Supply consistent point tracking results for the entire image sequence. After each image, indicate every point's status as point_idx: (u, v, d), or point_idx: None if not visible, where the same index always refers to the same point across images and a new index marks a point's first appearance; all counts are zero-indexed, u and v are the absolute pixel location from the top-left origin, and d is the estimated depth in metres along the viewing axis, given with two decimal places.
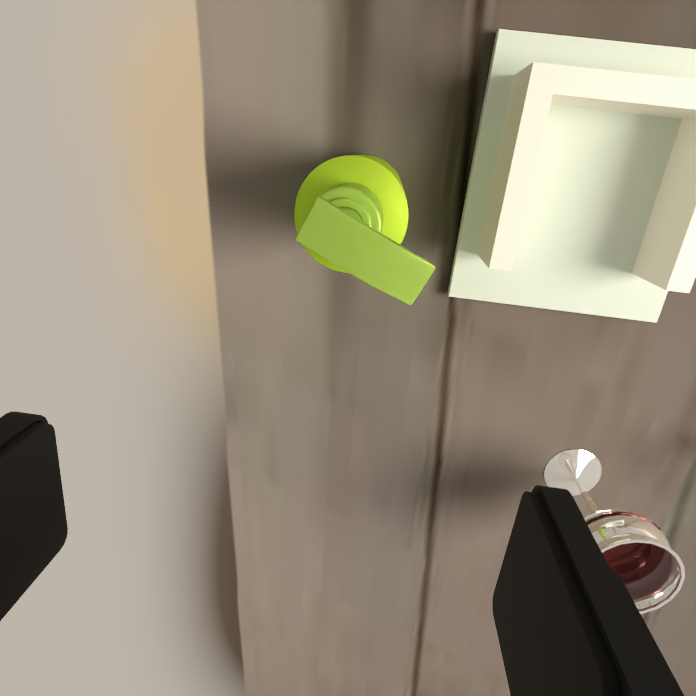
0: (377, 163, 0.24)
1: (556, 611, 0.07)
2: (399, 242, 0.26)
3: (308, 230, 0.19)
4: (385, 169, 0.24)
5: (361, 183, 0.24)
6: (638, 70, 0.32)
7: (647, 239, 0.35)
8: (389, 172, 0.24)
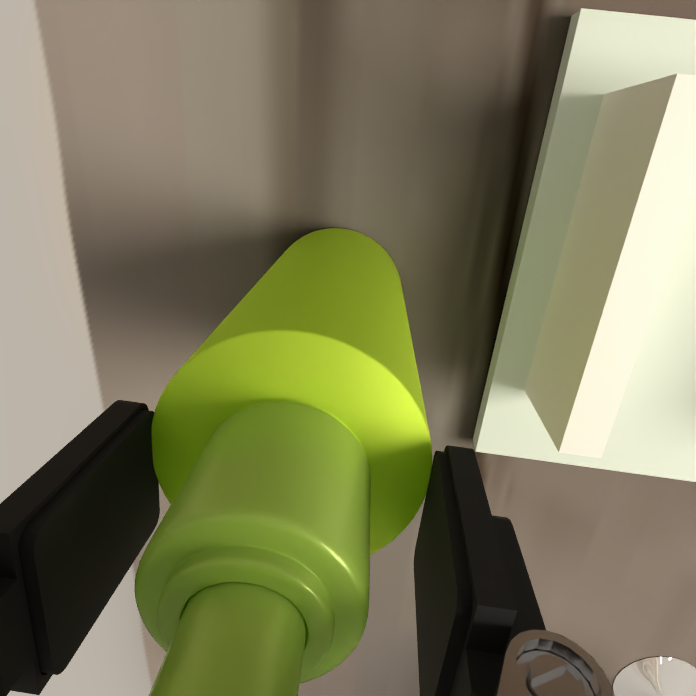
0: (353, 349, 0.09)
1: (442, 547, 0.08)
2: (409, 517, 0.11)
3: None
4: (374, 364, 0.09)
5: (312, 400, 0.09)
6: None
7: None
8: (384, 370, 0.09)
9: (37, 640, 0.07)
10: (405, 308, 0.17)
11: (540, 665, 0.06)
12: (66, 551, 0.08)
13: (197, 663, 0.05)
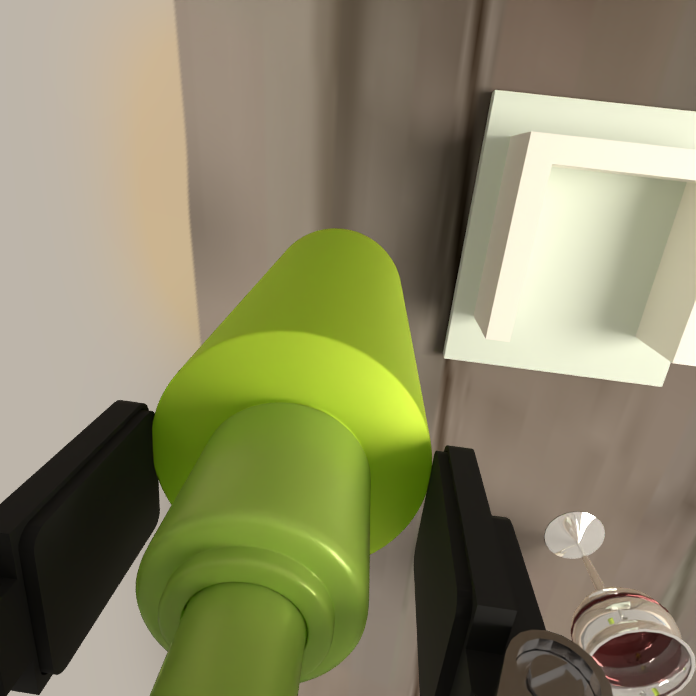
0: (353, 349, 0.09)
1: (442, 547, 0.08)
2: (409, 517, 0.11)
3: None
4: (374, 365, 0.09)
5: (312, 401, 0.09)
6: (640, 132, 0.31)
7: (651, 304, 0.34)
8: (384, 371, 0.09)
9: (37, 640, 0.07)
10: (405, 308, 0.18)
11: (540, 665, 0.06)
12: (66, 551, 0.08)
13: (198, 662, 0.05)
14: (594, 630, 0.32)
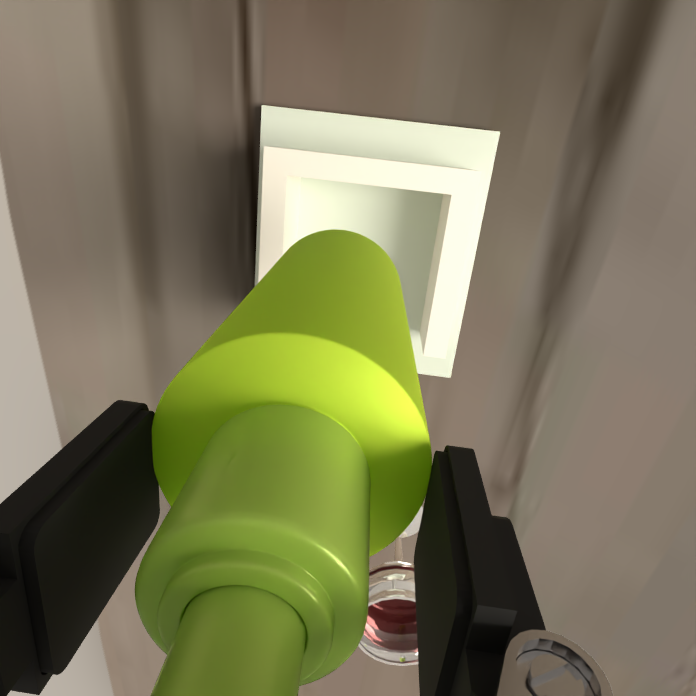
0: (353, 351, 0.09)
1: (441, 547, 0.08)
2: (409, 519, 0.11)
3: None
4: (374, 367, 0.09)
5: (312, 403, 0.09)
6: (396, 144, 0.34)
7: (425, 301, 0.37)
8: (384, 373, 0.09)
9: (37, 640, 0.07)
10: (405, 309, 0.18)
11: (540, 665, 0.06)
12: (66, 551, 0.08)
13: (197, 667, 0.05)
14: None
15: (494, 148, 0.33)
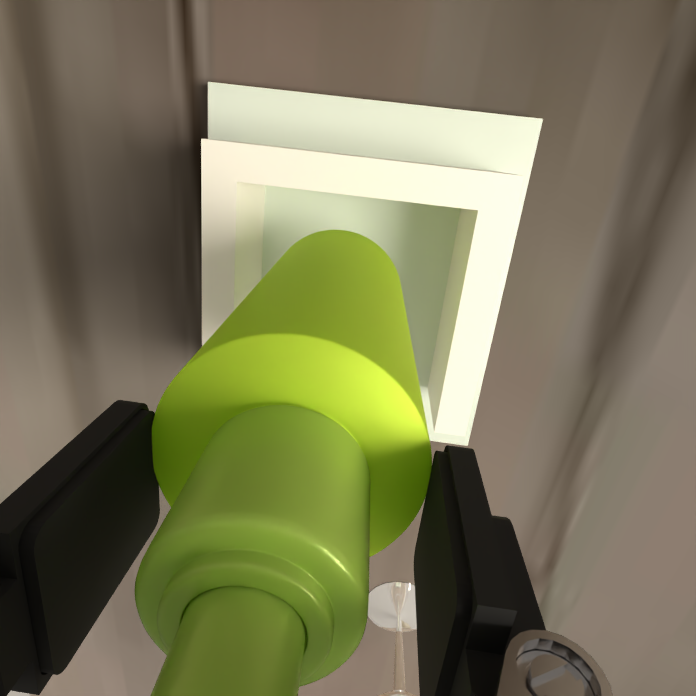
0: (352, 352, 0.09)
1: (442, 547, 0.08)
2: (409, 519, 0.11)
3: None
4: (374, 368, 0.09)
5: (311, 403, 0.09)
6: (396, 137, 0.24)
7: (436, 349, 0.27)
8: (384, 373, 0.09)
9: (37, 640, 0.07)
10: (405, 310, 0.18)
11: (540, 665, 0.06)
12: (66, 551, 0.08)
13: (197, 667, 0.05)
14: None
15: (534, 142, 0.24)
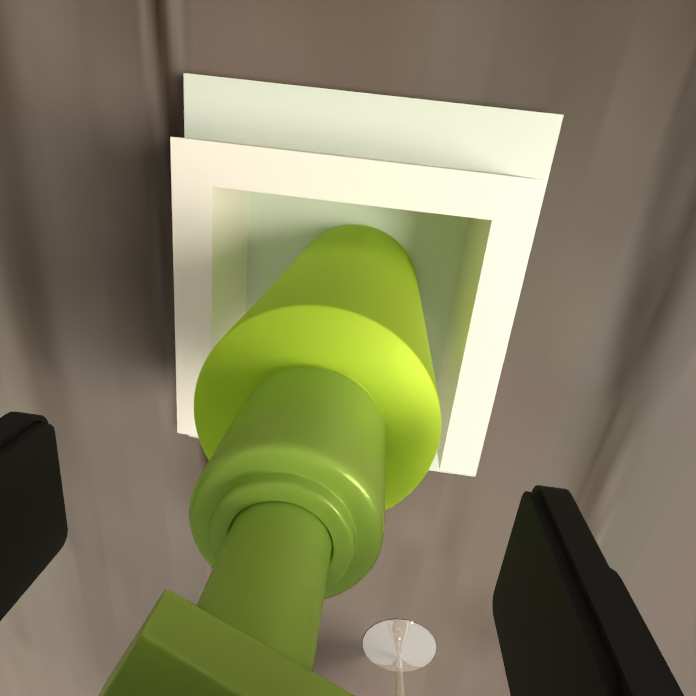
0: (375, 324, 0.11)
1: (556, 611, 0.07)
2: (419, 478, 0.12)
3: None
4: (393, 338, 0.11)
5: (338, 367, 0.11)
6: (397, 135, 0.21)
7: (441, 373, 0.24)
8: (402, 343, 0.11)
9: None
10: (420, 300, 0.19)
11: None
12: None
13: (248, 553, 0.07)
14: None
15: (553, 141, 0.21)
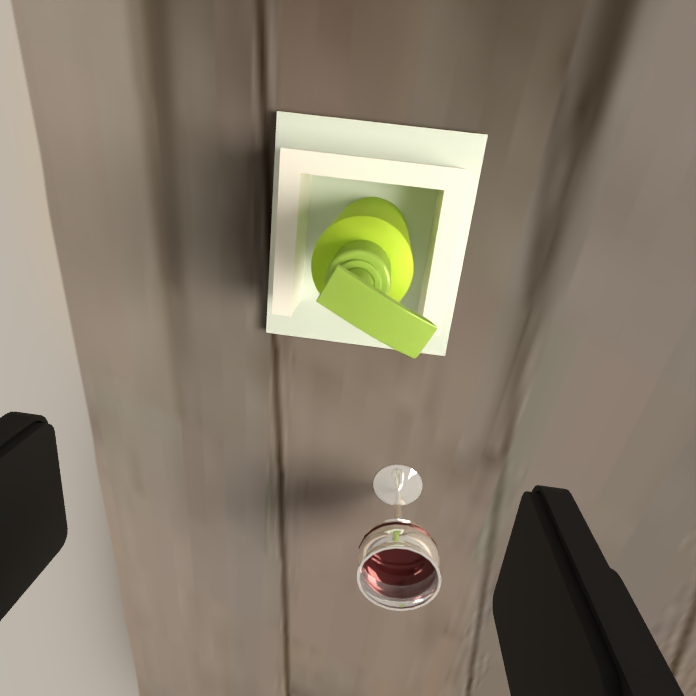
0: (387, 223, 0.27)
1: (556, 611, 0.07)
2: (404, 292, 0.29)
3: (328, 294, 0.22)
4: (394, 228, 0.27)
5: (372, 240, 0.27)
6: (396, 145, 0.38)
7: (422, 286, 0.41)
8: (397, 231, 0.27)
9: None
10: None
11: None
12: None
13: (352, 273, 0.23)
14: (366, 550, 0.40)
15: (482, 149, 0.37)
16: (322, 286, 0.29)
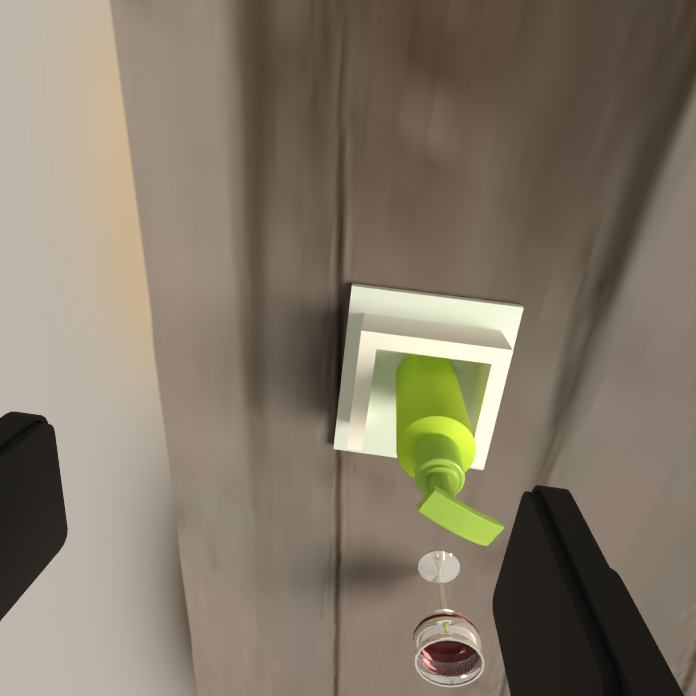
0: (457, 421, 0.36)
1: (556, 611, 0.07)
2: (468, 467, 0.37)
3: (427, 506, 0.31)
4: (462, 425, 0.36)
5: (445, 434, 0.36)
6: (448, 313, 0.47)
7: None
8: (465, 427, 0.36)
9: None
10: None
11: None
12: None
13: (440, 481, 0.32)
14: (422, 638, 0.48)
15: (519, 318, 0.46)
16: (404, 462, 0.37)
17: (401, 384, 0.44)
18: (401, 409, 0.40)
